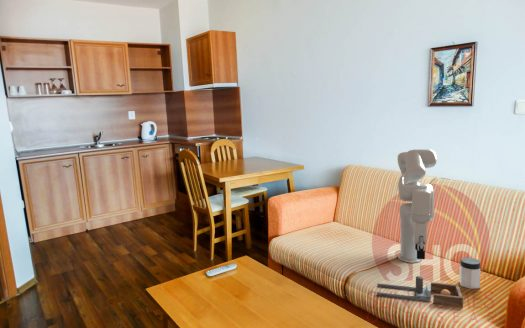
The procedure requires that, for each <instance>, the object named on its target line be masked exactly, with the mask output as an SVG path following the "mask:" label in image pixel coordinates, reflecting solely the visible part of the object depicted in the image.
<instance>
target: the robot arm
mask: <svg viewBox="0 0 525 328" xmlns="http://www.w3.org/2000/svg"><path fill="white" fill-rule="evenodd" d="M397 164H398V167H399V170H400V173H401V176H400V177H399V179H398V184H397V188H398V190H397V191H398V197H399V199H400V200H401V201H402V202H404V203H402V204H401V205H399V208H398V210H399V217H400V219H399V220H400V252H399V253H398V254H397V259H398V260H399V261H401V262H405V263H409V264H411V263H412V264H413V263H415V264H416V263H420V262H422V260H425V259H426V249H425V247H426V245H427V238H428V237H427V236H428V223H430V222H431V221H433V220H434V218H435V190H434V187H433V185H431V184H430V183H425V182H424V183H421V182H420V180H422V179H423V178H424V177H425V176H426V169H427V168H428V169H430V168H433V167H435V166H436V165H437V154H436V152H435V150H433V149H429V148H428V149H426V148H425V149H424V148H423V149H420V148H419V149H410V150H408V151H405V152H404V151H402V152H400V153H398V155H397ZM405 202H406V203H405Z"/></svg>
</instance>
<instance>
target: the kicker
mask: <svg viewBox="0 0 525 328" xmlns="http://www.w3.org/2000/svg"><path fill="white" fill-rule="evenodd" d="M425 285H426V286H425V289H423V288H424V277H423V276H419V275H417V276H415V287H416V291H415V295H416V296H415V297H424V298H430V301H431V297H432V292H431V284H430V283H426V284H425Z"/></svg>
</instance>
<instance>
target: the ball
mask: <svg viewBox="0 0 525 328" xmlns="http://www.w3.org/2000/svg"><path fill="white" fill-rule="evenodd" d="M440 294H441V295H450V296H452V295H451V293H450V292H449V291H448V290H446V289H444V290H442V291H441V293H440Z"/></svg>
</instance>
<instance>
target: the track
mask: <svg viewBox="0 0 525 328" xmlns="http://www.w3.org/2000/svg"><path fill="white" fill-rule="evenodd" d="M376 285H377V287H378V288H387V289H396V290H404V291H405V290H406V291H412V292H414V291H415V292H416V286H415V287H414V286H405V285H397V284H386V283H377V284H376ZM423 289H426V287H425V288H424V287H423ZM376 296H378V297H386V298H395V299H400V300H401V299H403V300H410V301H411V300H412V301H418V302H427V303H429V302H431V300H430V298H424V297H417V296H414V295H413V296H412V295H405V294H397V293H388V292H378V291H376Z"/></svg>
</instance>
